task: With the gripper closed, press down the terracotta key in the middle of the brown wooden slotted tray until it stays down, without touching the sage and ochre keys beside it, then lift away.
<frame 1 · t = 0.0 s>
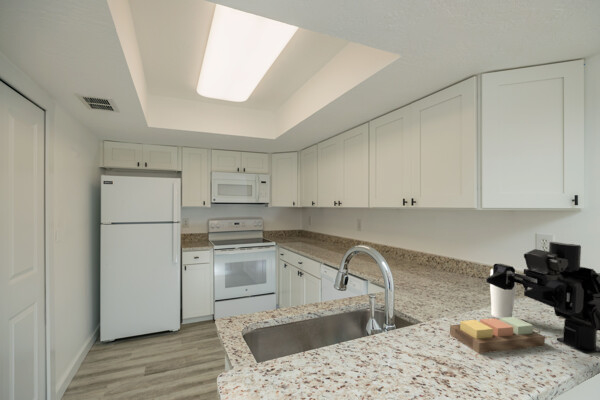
hand: (504, 286, 63), 17 cm above the countertop, tool horizontal, fingers open, 9 cm apart
terracotta key: (496, 328, 70), point 3 cm above the countertop, slide at 0.0 cm
brown wooden slotted tray: (495, 340, 70), on the countertop
ochre key: (476, 330, 69), point 3 cm above the countertop, slide at 0.0 cm
white tall cylinder: (501, 318, 85), on the countertop
sage key: (515, 326, 72), point 3 cm above the countertop, slide at 0.0 cm
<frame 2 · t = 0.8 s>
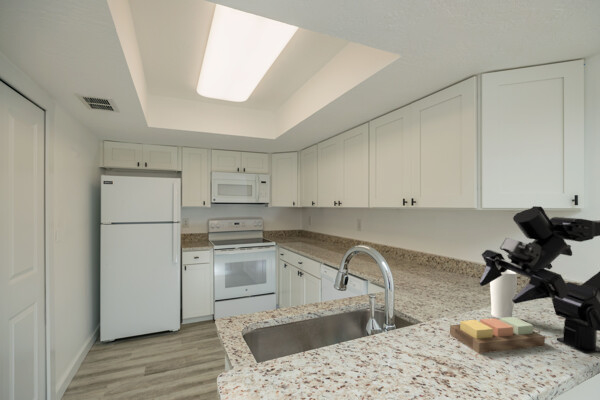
hand: (495, 292, 67), 14 cm above the countertop, tool tilted 50°, fingers open, 9 cm apart
nothing on the countertop moved.
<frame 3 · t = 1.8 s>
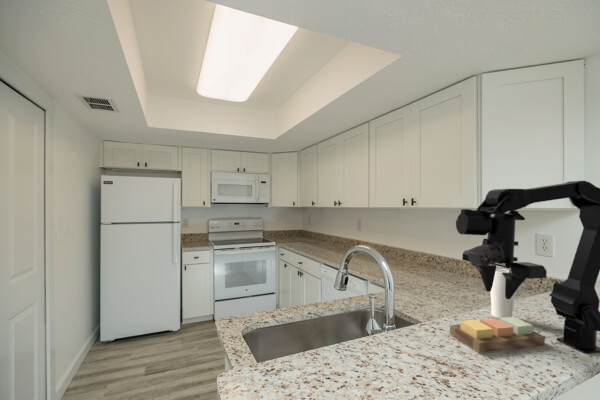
hand: (497, 295, 70), 12 cm above the countertop, tool pointing down, fingers open, 5 cm apart
nothing on the countertop moved.
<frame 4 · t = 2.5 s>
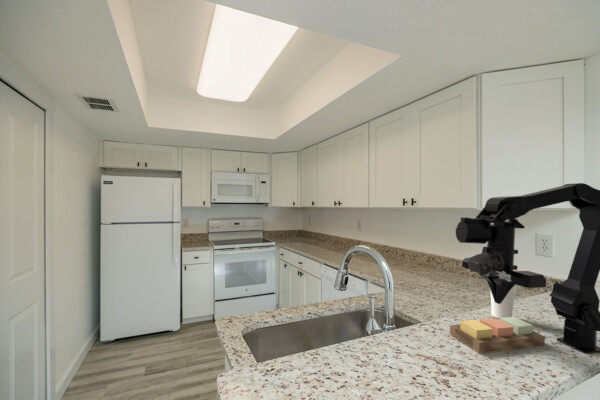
hand: (497, 303, 70), 10 cm above the countertop, tool pointing down, fingers closed
nothing on the countertop moved.
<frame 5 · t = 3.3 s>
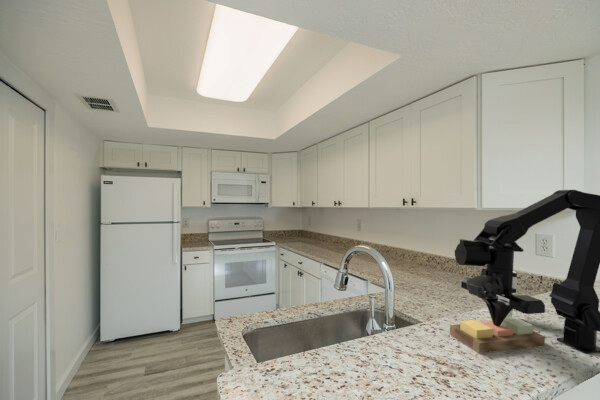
hand: (496, 325, 70), 4 cm above the countertop, tool pointing down, fingers closed, pressing on terracotta key
terracotta key: (496, 330, 70), point 3 cm above the countertop, slide at 0.6 cm, touching gripper
everything else where it was.
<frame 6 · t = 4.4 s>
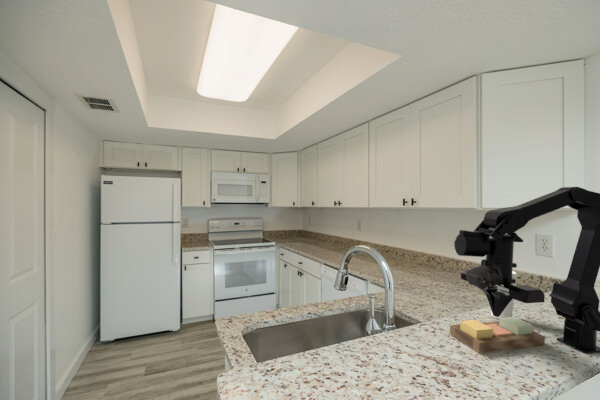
hand: (496, 316, 70), 6 cm above the countertop, tool pointing down, fingers closed
terracotta key: (496, 334, 70), point 2 cm above the countertop, slide at 1.6 cm
everything else where it was.
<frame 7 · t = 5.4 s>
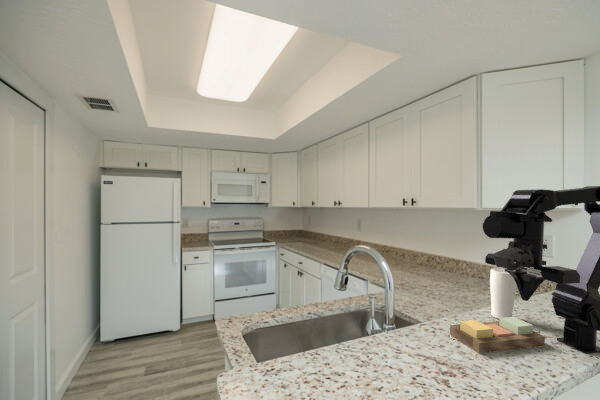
hand: (525, 300, 67), 12 cm above the countertop, tool pointing down, fingers closed
nothing on the countertop moved.
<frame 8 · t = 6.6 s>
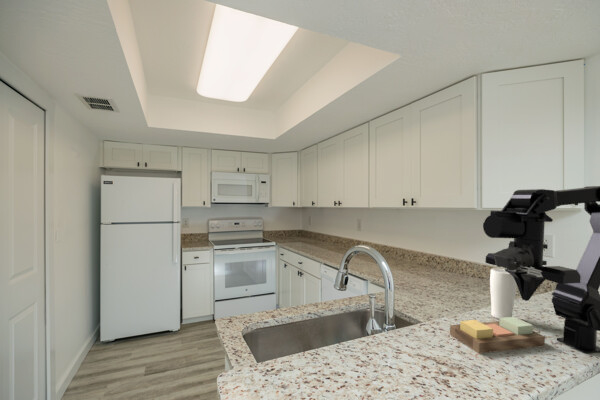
hand: (525, 300, 67), 12 cm above the countertop, tool pointing down, fingers closed
nothing on the countertop moved.
at the end: terracotta key slide at 1.6 cm; sage key slide at 0.0 cm; ochre key slide at 0.0 cm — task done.
